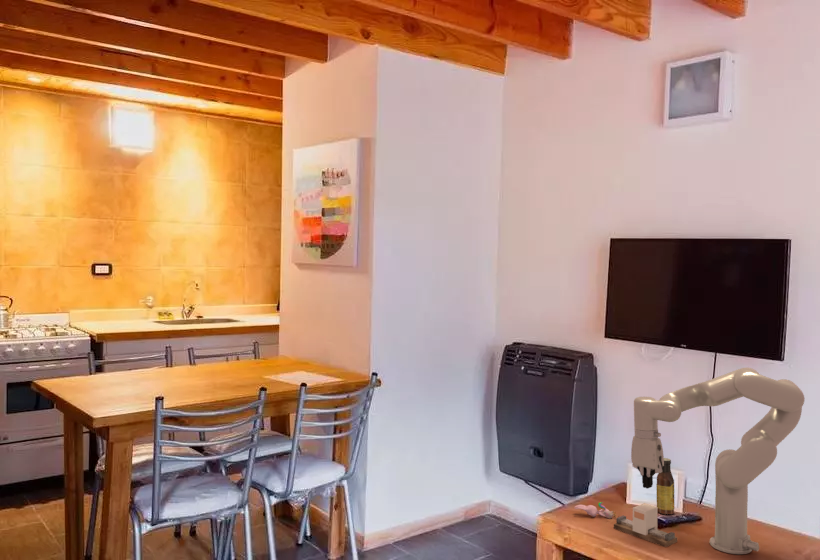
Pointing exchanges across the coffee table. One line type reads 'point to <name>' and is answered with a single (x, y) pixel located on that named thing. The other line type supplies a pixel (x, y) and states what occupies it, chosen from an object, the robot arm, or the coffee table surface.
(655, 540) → the board
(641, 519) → the module
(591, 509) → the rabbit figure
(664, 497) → the sauce bottle
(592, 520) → the coffee table surface
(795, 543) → the coffee table surface
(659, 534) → the rail
